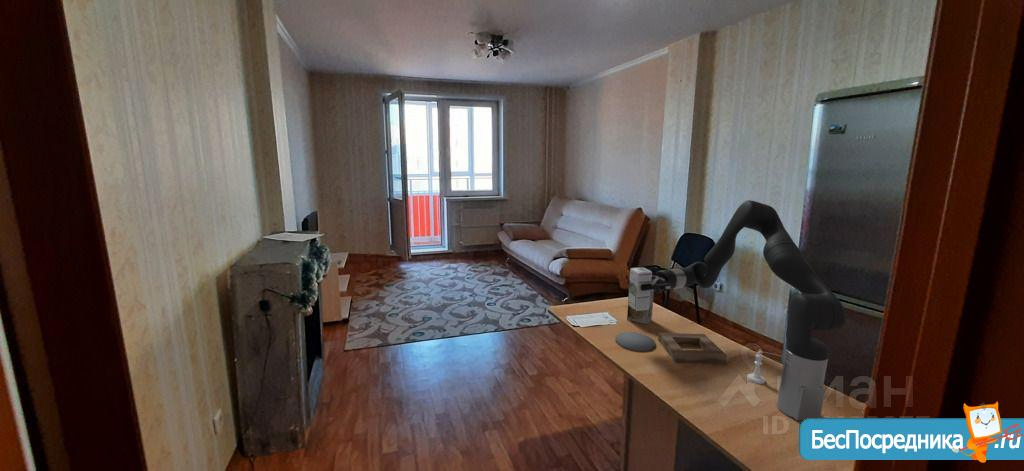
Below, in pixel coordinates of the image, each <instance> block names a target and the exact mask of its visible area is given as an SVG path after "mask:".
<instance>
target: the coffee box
mask: <svg viewBox="0 0 1024 471" xmlns="http://www.w3.org/2000/svg"><path fill="white" fill-rule="evenodd" d="M654 293H655V290H653V291H650V305H649V310H642V311H635V310H634V309H633V308H631V307H630V306H628V305H627V315H626V320H627V321H631V322H635V323H640V324H644V325H649V324H650V322H651V321H652V320H653V319H652V318H653V310H654V307H653V305H654V295H655V294H654Z"/></svg>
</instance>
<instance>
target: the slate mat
mask: <svg viewBox="0 0 1024 471" xmlns="http://www.w3.org/2000/svg"><path fill="white" fill-rule="evenodd" d="M614 342H615V343H616V344H617V345H618V346H620V347H621V348H623V349H626V350H628V351H629V350H630V351H633V352H649V351H651V350H653V349H654V348H655V347H656V346H655V345H656V344H655V343H656V342H655V340H654V339H653V338H652V337H650V336H649V335H646V334H643V333H641V332H640V333H639V332H635V331H634V332H633V331H625V332H619V333H618V334H615V341H614Z"/></svg>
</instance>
